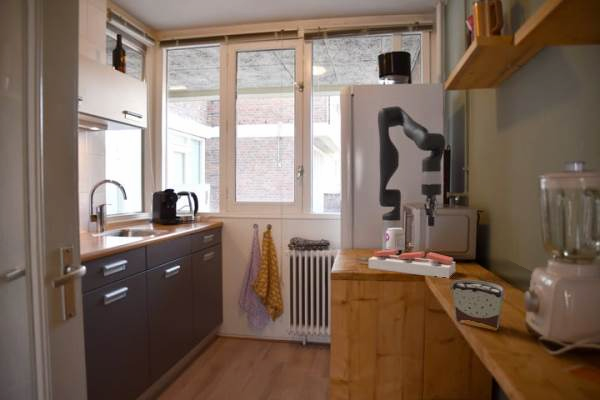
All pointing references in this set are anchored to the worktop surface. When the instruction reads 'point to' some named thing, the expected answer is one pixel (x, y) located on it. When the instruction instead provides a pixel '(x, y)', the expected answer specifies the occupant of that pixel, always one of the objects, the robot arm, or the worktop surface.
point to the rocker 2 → (439, 258)
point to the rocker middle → (411, 255)
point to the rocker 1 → (386, 252)
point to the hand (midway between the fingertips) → (431, 225)
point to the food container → (477, 301)
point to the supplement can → (395, 240)
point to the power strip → (411, 265)
